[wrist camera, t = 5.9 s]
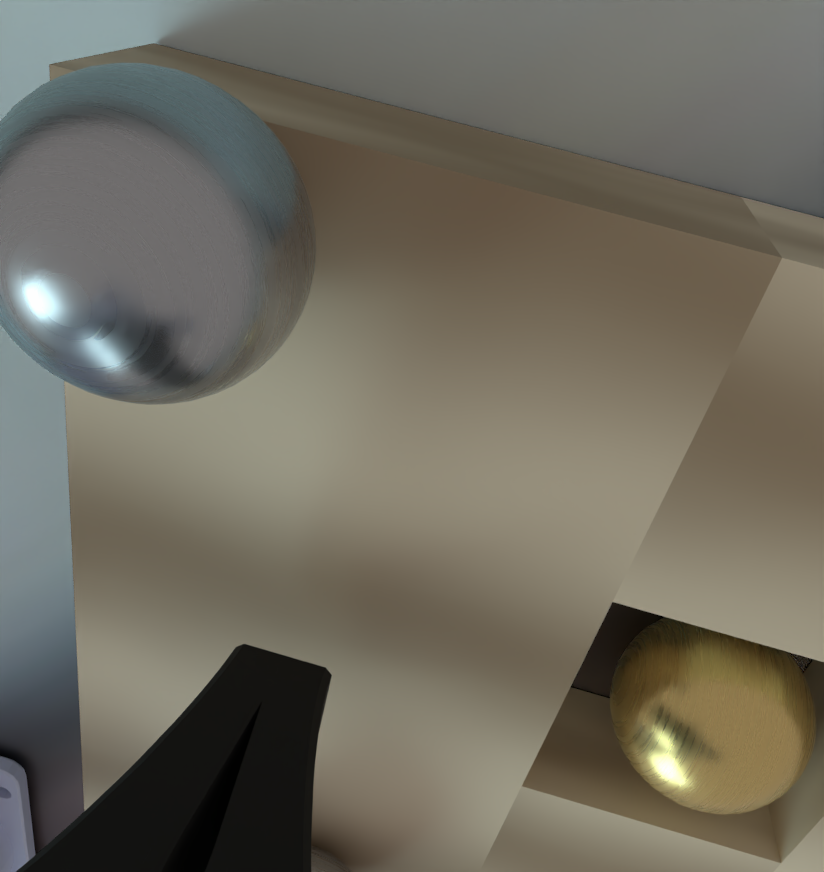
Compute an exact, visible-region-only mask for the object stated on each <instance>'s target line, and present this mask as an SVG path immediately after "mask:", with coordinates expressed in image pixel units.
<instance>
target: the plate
mask: <svg viewBox="0 0 824 872" xmlns="http://www.w3.org/2000/svg"><path fill="white" fill-rule="evenodd" d="M112 63H147V64H152V65H157V66H162V67H168V68H172V69H177V70H180V71H183V72H186V73H189V74H192V75H195V76H198V77H200V78H202V79H204V80H206V81H208V82H210V83H212V84H214V85H216V86H218V87H220V88H221V89H223V90H224V91H226V92H227V93H229V94H230V95H232V96H233V97H235V98H237V99H238V100H240V101H241V102H242V103H244V104H245V105H246V106H247V107H248V108H250V109H251V110H252V111H253V112H254V113H256V114H257V115H258V116H259V117H260V118H261V119H262V120H263V121H264V122H265V123H266V125H267V126H268V127H269V128H270V129H271V130H272V131H273V132H274V133H275V135H276V136H277V137H278V139H279V140H280V141H281V143H282V144H283V145H284V147H285V148H286V150H287V151H288V153H289V155H290V156H291V158H292V160H293V162H294V163H295V165H296V167H297V169H298V171H299V173H300V176H301V178H302V180H303V182H304V185H305V187H306V191H307V194H308V197H309V200H310V204H311V208H312V213H313V219H314V224H315V234H316V262H315V271H314V276H313V280H312V285H311V289H310V293H309V297H308V299H307V302H306V305H305V307H304V310H303V313H302V315H301V316H300V318H299V320H298V322H297V324H296V325H295V327H294V329H293V331H292V332H291V334H290V336H289V337H288V339H287V340H286V341H285V342H284V344H283V345H282V346H281V348H280V349H279V350H278V351H277V352H276V353H275V354H274V355H273V356H272V357H271V358H270V359H269V360H268V361H267V362H266V363H265V364H264V365H263V366H262V367H261V368H260V369H258V370H257V371H256V372H254V373H253V374H251V375H250V376H248V377H247V378H245V379H244V380H242V381H240V382H239V383H237V384H236V385H234V386H232V387H230V388H228V389H225V390H223V391H221V392H219V393H216V394H213V395H210V396H207V397H203V398H200V399H197V400H193V401H188V402H181V403H175V404H157V405H146V404H136V403H128V402H122V401H117V400H113V399H108V398H104V397H101V396H98V395H95V394H92V393H89V392H87V391H84V390H82V389H80V388H78V387H76V386H74V385H71V384H70V383H68V382H66V381H64V388H65V409H66V431H67V452H68V473H69V495H70V516H71V538H72V559H73V580H74V602H75V623H76V644H77V666H78V687H79V708H80V730H81V751H82V772H83V794H84V811H85V810H86V809H88V808H89V807H90V806H91V805H92V804H93V803H94V802H95V801H96V800H97V799H98V798H99V797H100V796H101V795H102V794H103V793H104V792H105V791H107V790H108V789H109V788H110V787H111V786H112V785H113V784H114V783H115V782H116V781H117V780H118V779H119V778H120V777H121V776H122V775H123V774H124V773H125V772H126V771H127V770H128V769H129V768H130V767H131V766H132V765H133V764H134V763H135V762H136V761H137V760H138V759H139V758H140V757H141V756H142V755H143V754H144V753H145V752H146V751H147V750H148V749H149V748H150V747H151V746H152V745H153V744H154V743H155V742H156V741H157V739H158V738H159V737H160V736H161V735H162V734H163V733H164V732H165V731H166V730H167V729H168V728H169V727H170V726H171V725H172V724H173V723H174V722H175V721H176V719H177V718H178V717H179V716H180V715H181V714H182V713H183V712H184V710H185V709H186V708H187V707H188V706H189V705H190V704H191V703H192V701H193V700H194V699H195V698H196V697H197V696H198V694H199V693H200V692H201V691H202V690H203V689H204V687H205V686H206V685H207V684H208V683H209V681H210V680H211V679H212V678H213V676H214V675H215V674H216V673H217V671H218V670H219V669H220V668H221V666H222V665H223V664H224V663H225V661H226V660H227V658H228V657H229V656H230V654H231V653H232V652H233V650H234V649H235V647H237V646H240V645H242V644H247V645H250V646H254V647H257V648H261V649H264V650H268V651H271V652H274V653H278V654H281V655H285V656H288V657H292V658H295V659H298V660H302V661H305V662H309V663H312V664H316V665H319V666H322V667H326V668H327V670H328V671H329V672H330V673H331V675H332V677H331V682H330V686H329V690H328V695H327V699H326V703H325V708H324V712H323V716H322V721H321V725H320V730H319V734H318V742H317V750H316V759H315V770H314V784H313V808H312V834H311V846H313V847H317V848H320V849H322V850H325V851H327V852H329V853H330V854H332V855H334V856H335V857H336V858H338V859H339V860H340V861H342V862H343V863H344V864H345V865H346V866H347V867H348V868H349V869H350V870H351V871H352V872H824V218H820V217H816V216H812V215H808V214H805V213H801V212H797V211H793V210H789V209H786V208H782V207H778V206H774V205H770V204H766V203H763V202H759V201H755V200H751V199H747V198H743V197H740V196H736V195H732V194H728V193H724V192H720V191H717V190H713V189H709V188H705V187H701V186H697V185H694V184H690V183H686V182H682V181H678V180H675V179H671V178H667V177H663V176H659V175H655V174H652V173H648V172H644V171H640V170H636V169H632V168H629V167H625V166H621V165H617V164H613V163H609V162H606V161H602V160H598V159H594V158H590V157H587V156H583V155H579V154H575V153H571V152H567V151H564V150H560V149H556V148H552V147H548V146H544V145H541V144H537V143H533V142H529V141H525V140H521V139H518V138H514V137H510V136H506V135H502V134H498V133H495V132H491V131H487V130H483V129H479V128H476V127H472V126H468V125H464V124H460V123H456V122H453V121H449V120H445V119H441V118H437V117H433V116H430V115H426V114H422V113H418V112H414V111H410V110H407V109H403V108H399V107H395V106H391V105H387V104H384V103H380V102H376V101H372V100H368V99H365V98H361V97H357V96H353V95H349V94H345V93H342V92H338V91H334V90H330V89H326V88H322V87H319V86H315V85H311V84H307V83H303V82H299V81H296V80H292V79H288V78H284V77H280V76H277V75H273V74H269V73H265V72H261V71H257V70H254V69H250V68H246V67H242V66H238V65H234V64H231V63H227V62H223V61H219V60H215V59H211V58H208V57H204V56H200V55H196V54H192V53H188V52H185V51H181V50H177V49H173V48H169V47H166V46H162V45H158V44H154V43H153V44H148V45H143V46H138V47H133V48H128V49H124V50H119V51H114V52H109V53H104V54H99V55H94V56H89V57H84V58H79V59H74V60H69V61H64V62H59V63H54V64H49V68H50V81H51V80H53V79H55V78H57V77H59V76H62V75H65V74H67V73H70V72H73V71H76V70H80V69H83V68H86V67H90V66H96V65H104V64H112ZM612 602H615V603H618V604H622V605H625V606H629V607H632V608H636V609H639V610H643V611H646V612H650V613H653V614H657V615H660V616H664V617H667V618H671V619H674V620H678V621H681V622H685V623H688V624H692V625H695V626H699V627H702V628H706V629H709V630H713V631H716V632H720V633H723V634H727V635H730V636H734V637H737V638H741V639H744V640H748V641H751V642H755V643H758V644H762V645H765V646H769V647H772V648H776V649H779V650H783V651H786V652H790V653H793V654H797V655H800V656H804V657H807V658H811V659H814V660H813V661H812V662H811V664H810V665H809V666H808V668H807V669H806V670H805V672H804V673H803V675H804V677H805V679H806V681H807V683H808V686H809V689H810V691H811V694H812V697H813V701H814V707H815V714H816V737H815V743H814V748H813V751H812V755H811V757H810V760H809V762H808V764H807V766H806V768H805V770H804V772H803V774H802V775H801V777H800V778H799V780H798V781H797V782H796V783H795V784H794V785H793V786H792V787H791V788H790V789H789V790H788V791H787V792H786V793H785V794H784V795H783V796H781V797H780V798H778V799H777V800H775V801H774V802H772V803H771V804H769V805H766V806H764V807H761V808H759V809H756V810H754V811H750V812H745V813H740V814H726V815H721V814H711V813H705V812H701V811H697V810H693V809H690V808H687V807H685V806H682V805H680V804H678V803H676V802H674V801H672V800H671V799H669V798H667V797H665V796H663V795H662V794H661V793H659V792H658V791H657V790H655V789H654V788H653V787H652V786H651V785H650V784H648V783H647V782H646V781H645V780H644V779H643V778H642V777H641V776H640V775H639V774H638V772H637V771H636V770H635V769H634V767H633V766H632V765H631V763H630V762H629V760H628V758H627V757H626V755H625V754H624V752H623V750H622V748H621V746H620V743H619V741H618V739H617V736H616V733H615V730H614V726H613V723H612V717H611V709H610V699H609V698H606V697H603V696H599V695H596V694H592V693H589V692H585V691H582V690H579V689H575V688H572V687H571V685H572V683H573V681H574V679H575V677H576V675H577V673H578V671H579V669H580V667H581V665H582V663H583V661H584V659H585V657H586V655H587V653H588V651H589V649H590V647H591V645H592V642H593V640H594V638H595V636H596V634H597V632H598V630H599V628H600V626H601V624H602V622H603V620H604V618H605V616H606V614H607V612H608V610H609V608H610V606H611V604H612Z"/></svg>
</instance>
